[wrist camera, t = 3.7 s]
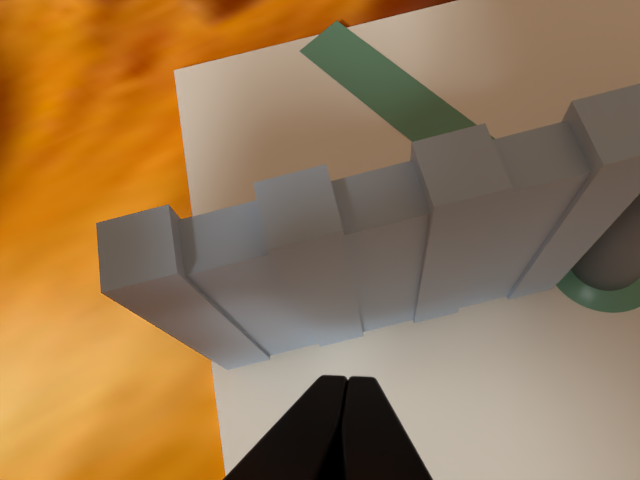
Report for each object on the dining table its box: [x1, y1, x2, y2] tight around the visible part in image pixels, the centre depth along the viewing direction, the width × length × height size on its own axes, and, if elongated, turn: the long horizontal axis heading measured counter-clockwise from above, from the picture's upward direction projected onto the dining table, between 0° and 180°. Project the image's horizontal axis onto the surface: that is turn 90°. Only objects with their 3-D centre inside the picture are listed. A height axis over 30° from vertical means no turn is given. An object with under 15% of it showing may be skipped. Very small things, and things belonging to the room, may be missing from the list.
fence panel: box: [96, 84, 640, 370], centre depth 12 cm, size 9×1×7 cm, turn 103°
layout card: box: [174, 0, 640, 480], centre depth 16 cm, size 20×18×1 cm
